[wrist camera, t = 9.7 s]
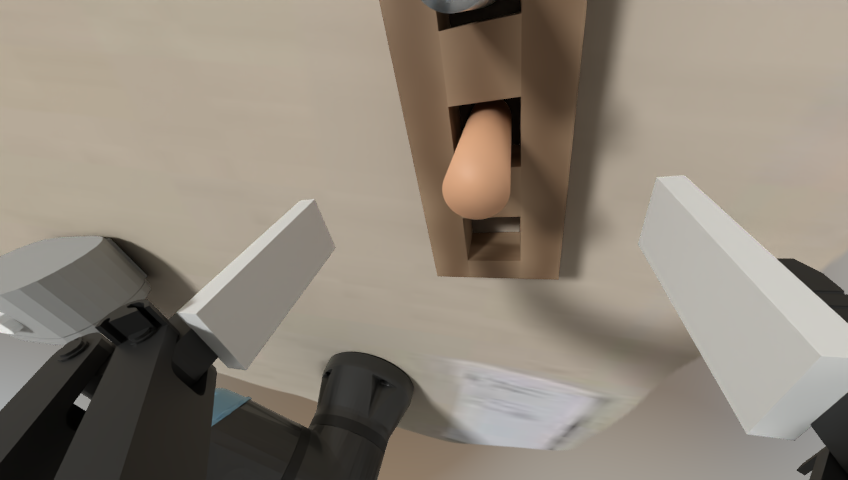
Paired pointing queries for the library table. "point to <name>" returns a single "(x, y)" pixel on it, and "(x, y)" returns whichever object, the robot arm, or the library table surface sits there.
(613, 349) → the library table surface
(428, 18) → the hole block
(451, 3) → the grey peg
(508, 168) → the orange rounded rod
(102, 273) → the alarm clock
